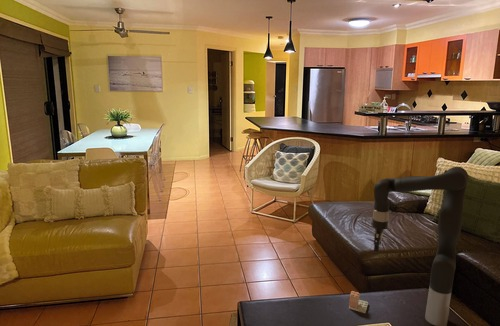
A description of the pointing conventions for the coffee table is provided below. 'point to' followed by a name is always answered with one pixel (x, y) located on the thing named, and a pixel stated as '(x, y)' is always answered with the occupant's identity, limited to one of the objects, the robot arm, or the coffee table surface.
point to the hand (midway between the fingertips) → (377, 247)
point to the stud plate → (360, 306)
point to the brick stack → (354, 299)
